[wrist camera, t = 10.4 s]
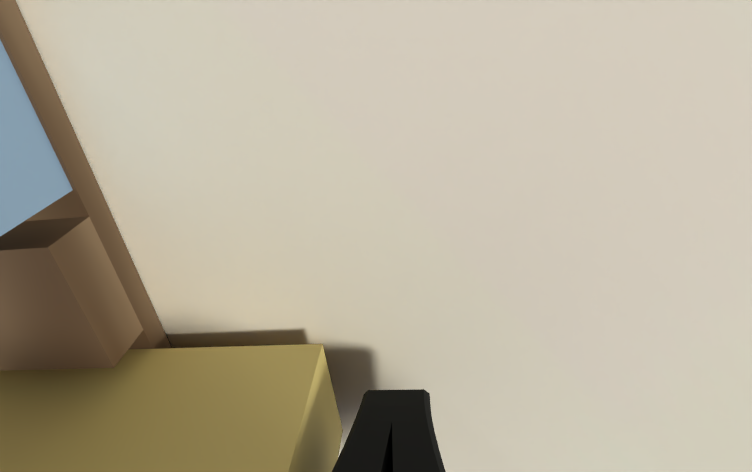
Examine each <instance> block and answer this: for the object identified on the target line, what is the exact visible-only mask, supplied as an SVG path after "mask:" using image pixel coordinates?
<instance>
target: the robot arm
mask: <svg viewBox="0 0 752 472" xmlns="http://www.w3.org/2000/svg"><path fill="white" fill-rule="evenodd" d="M332 472H445V469H444V465H443V462H442V459H441V455H440V452H439V448H438V444H437V440H436V436H435V432H434V427H433V422H432V417H431V407H430V396H429V393H428V392H427V391H425V390H368V391H367V392H366V393H365V394H364V396H363V399H362V402H361V405H360V408H359V411H358V413H357V416H356V419H355V421H354V424H353V426H352V428H351V431H350V433H349V436H348V438H347V440H346V442H345V445H344V447H343V449H342V451H341V453H340V456H339V458H338V460H337V462H336V464H335V466H334V468H333V470H332Z"/></svg>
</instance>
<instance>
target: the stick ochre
mask: <svg viewBox="0 0 752 472" xmlns="http://www.w3.org/2000/svg"><path fill="white" fill-rule="evenodd" d="M342 431H343V430H342V425H341V421H340V417H339V412H338V408H337V404H336V400H335V395H334V391H333V387H332V383H331V378H330V374H329V370H328V366H327V361H326V357H325V353H324V348H323V344H302V345H268V346H233V347H198V348H164V349H129V350H127V352H126V353H125V354H124V356H123V357H122V358H121V360H120V361H119V362H118V363H117V365H116V366H115V367H114V368H93V369H50V370H6V371H0V472H332V470H333V468H334V466H335V464H336V462H337V460H338V454H339V449H340V443H341V437H342Z"/></svg>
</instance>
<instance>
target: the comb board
mask: <svg viewBox="0 0 752 472" xmlns="http://www.w3.org/2000/svg"><path fill="white" fill-rule="evenodd" d="M0 40H1V42H2V44H3V46H4V48H5V50H6V52H7V54H8V56H9V59H10V61H11V63H12V65H13V67H14V69H15V71H16V73H17V75H18V77H19V79H20V81H21V83H22V85H23V88H24V90H25V92H26V94H27V96H28V98H29V100H30V102H31V104H32V106H33V108H34V110H35V112H36V115H37V117H38V119H39V121H40V123H41V125H42V127H43V129H44V131H45V133H46V135H47V137H48V139H49V141H50V144H51V146H52V148H53V150H54V152H55V154H56V156H57V158H58V160H59V162H60V164H61V166H62V168H63V171H64V173H65V175H66V177H67V179H68V181H69V183H70V185H71V187H72V189H73V190H72V191H71V192H69V193H68V194H66V195H64V196H63V197H61V198H60V199H58V200H57V201H55V202H53V203H52V204H50V205H49V206H47V207H46V208H44V209H43V210H41V211H39V212H38V213H36V214H35V215H33V216H32V217H30V218H28V219H27V220H25V221H24V222H22V223H21V224H19V225H17V226H16V227H14V228H13V229H11V230H10V231H8V232H7V233H5V234H3V235H2V236H0V371H6V370H50V369H93V368H114V367H115V366H116V365H117V363H118V362H119V361H120V360H121V358H122V357H123V356H124V354H125V353H126V352H127V350H129V349H164V348H171V345H170V343H169V341H168V339H167V336H166V334H165V332H164V330H163V328H162V325H161V323H160V321H159V319H158V316H157V314H156V312H155V310H154V308H153V305H152V303H151V301H150V299H149V296H148V294H147V292H146V290H145V288H144V285H143V283H142V281H141V279H140V276H139V274H138V272H137V270H136V267H135V265H134V263H133V261H132V259H131V256H130V254H129V252H128V250H127V247H126V245H125V243H124V241H123V239H122V236H121V234H120V232H119V230H118V227H117V225H116V223H115V221H114V219H113V216H112V214H111V212H110V210H109V207H108V205H107V203H106V201H105V199H104V196H103V194H102V192H101V190H100V187H99V185H98V183H97V181H96V179H95V176H94V174H93V172H92V170H91V167H90V165H89V163H88V161H87V159H86V156H85V154H84V152H83V150H82V147H81V145H80V143H79V141H78V139H77V136H76V134H75V132H74V130H73V127H72V125H71V123H70V121H69V119H68V116H67V114H66V112H65V110H64V107H63V105H62V103H61V101H60V99H59V96H58V94H57V92H56V90H55V87H54V85H53V83H52V81H51V79H50V76H49V74H48V72H47V70H46V67H45V65H44V63H43V61H42V59H41V56H40V54H39V52H38V50H37V47H36V45H35V43H34V41H33V39H32V36H31V34H30V32H29V30H28V27H27V25H26V23H25V21H24V19H23V16H22V14H21V12H20V10H19V7H18V5H17V3H16V1H15V0H0Z"/></svg>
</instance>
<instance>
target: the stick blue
mask: <svg viewBox="0 0 752 472" xmlns="http://www.w3.org/2000/svg"><path fill="white" fill-rule="evenodd" d="M72 190H73V189H72V187H71V185H70V183H69V181H68V179H67V177H66V175H65V173H64V171H63V168H62V166H61V164H60V162H59V160H58V158H57V156H56V154H55V152H54V150H53V148H52V146H51V144H50V141H49V139H48V137H47V135H46V133H45V131H44V129H43V127H42V125H41V123H40V121H39V119H38V117H37V115H36V112H35V110H34V108H33V106H32V104H31V102H30V100H29V98H28V96H27V94H26V92H25V90H24V88H23V85H22V83H21V81H20V79H19V77H18V75H17V73H16V71H15V69H14V67H13V65H12V63H11V61H10V59H9V56H8V54H7V52H6V50H5V48H4V46H3V44H2V42H1V40H0V236H2V235H3V234H5V233H7V232H8V231H10V230H11V229H13V228H14V227H16V226H17V225H19V224H21V223H22V222H24V221H25V220H27V219H28V218H30V217H32V216H33V215H35V214H36V213H38V212H39V211H41V210H43V209H44V208H46V207H47V206H49V205H50V204H52V203H53V202H55V201H57V200H58V199H60V198H61V197H63V196H64V195H66V194H68V193H69V192H71V191H72Z"/></svg>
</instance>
